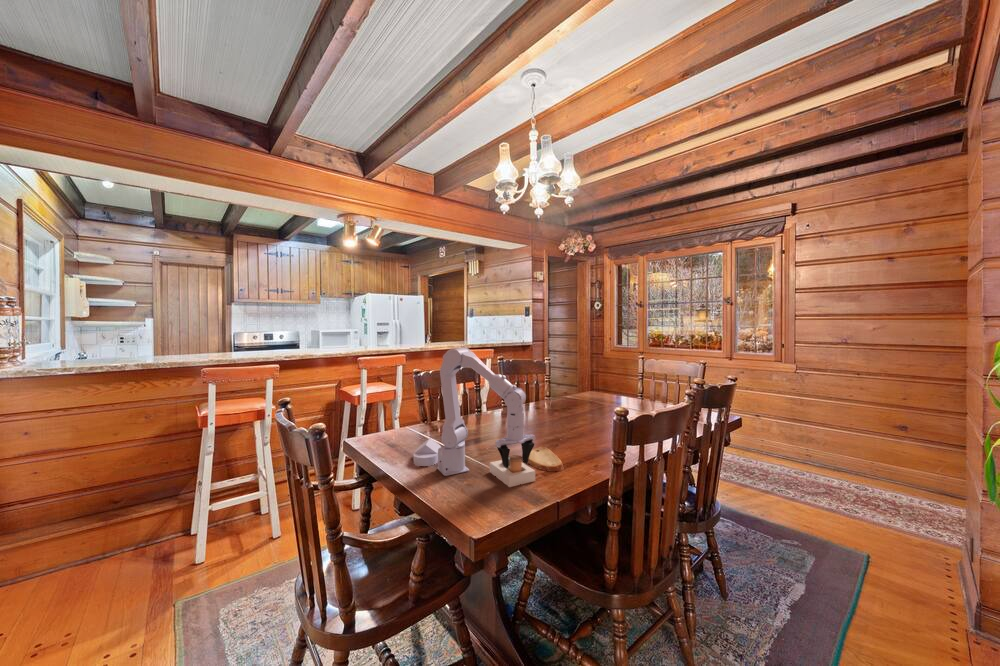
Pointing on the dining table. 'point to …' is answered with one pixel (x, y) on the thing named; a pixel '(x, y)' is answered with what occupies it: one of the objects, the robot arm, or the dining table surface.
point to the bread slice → (545, 459)
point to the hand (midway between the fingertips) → (515, 464)
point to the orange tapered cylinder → (515, 463)
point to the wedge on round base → (427, 453)
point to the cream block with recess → (509, 477)
